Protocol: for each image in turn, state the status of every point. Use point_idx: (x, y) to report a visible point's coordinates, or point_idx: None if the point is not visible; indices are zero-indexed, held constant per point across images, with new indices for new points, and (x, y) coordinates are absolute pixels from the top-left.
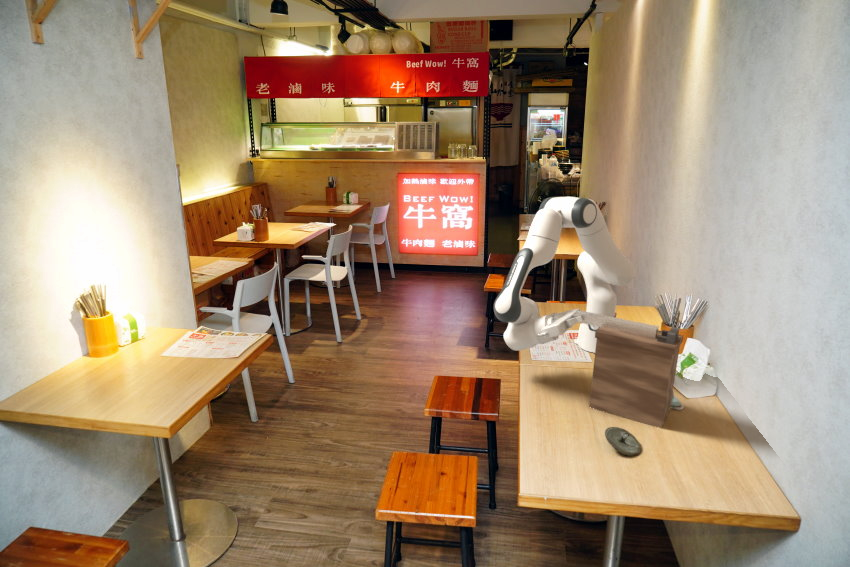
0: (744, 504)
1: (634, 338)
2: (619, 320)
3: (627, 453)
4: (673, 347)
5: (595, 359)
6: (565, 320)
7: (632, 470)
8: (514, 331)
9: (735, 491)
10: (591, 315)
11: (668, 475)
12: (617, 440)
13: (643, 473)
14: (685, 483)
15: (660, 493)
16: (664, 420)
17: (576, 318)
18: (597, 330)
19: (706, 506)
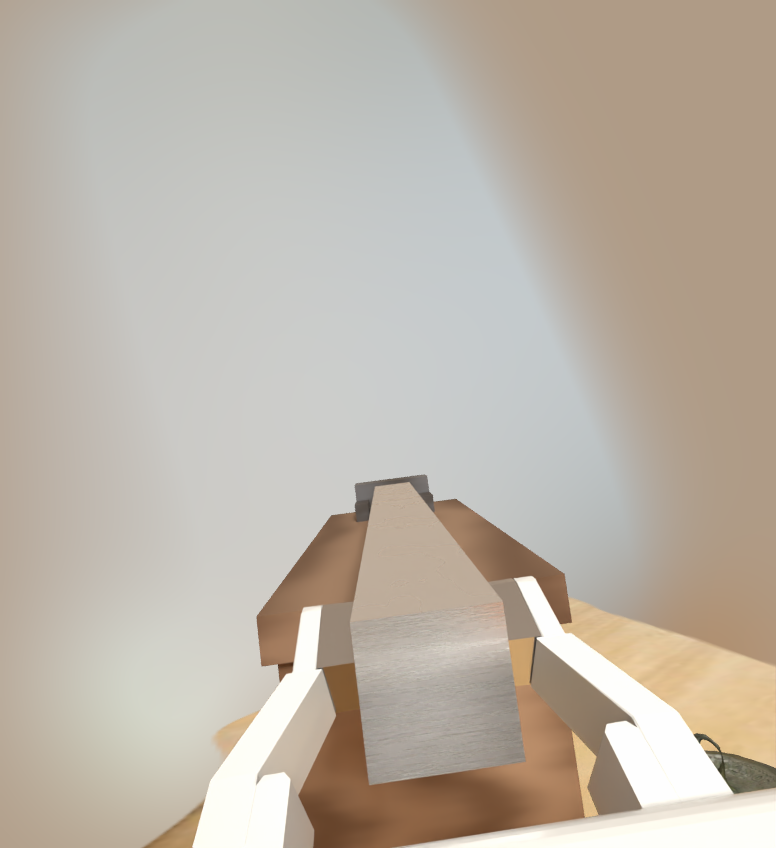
0: (598, 615)
1: (469, 523)
2: (404, 503)
3: (741, 757)
4: (448, 500)
5: (576, 788)
6: (771, 793)
7: (770, 735)
8: None
9: (579, 626)
10: (439, 539)
11: (670, 685)
12: (743, 791)
13: (739, 715)
14: (653, 662)
15: (745, 674)
16: None
17: (559, 633)
18: (532, 575)
19: (669, 632)
